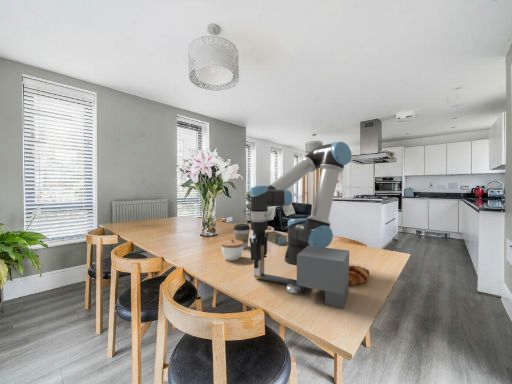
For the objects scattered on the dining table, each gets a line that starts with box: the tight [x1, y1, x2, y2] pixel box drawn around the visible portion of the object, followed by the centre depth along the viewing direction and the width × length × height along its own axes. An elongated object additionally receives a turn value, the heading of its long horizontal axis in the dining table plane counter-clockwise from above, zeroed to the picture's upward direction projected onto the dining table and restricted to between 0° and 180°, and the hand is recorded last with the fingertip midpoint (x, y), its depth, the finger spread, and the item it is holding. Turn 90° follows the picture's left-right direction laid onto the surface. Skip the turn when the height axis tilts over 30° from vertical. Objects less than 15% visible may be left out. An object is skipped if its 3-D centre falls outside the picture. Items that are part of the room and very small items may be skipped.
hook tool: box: [253, 245, 306, 293], centre depth 96 cm, size 22×8×14 cm, turn 62°
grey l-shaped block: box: [296, 246, 350, 310], centre depth 88 cm, size 17×15×16 cm
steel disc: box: [285, 284, 300, 295], centre depth 91 cm, size 5×5×2 cm
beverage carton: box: [265, 230, 288, 246], centre depth 171 cm, size 8×19×7 cm, turn 24°
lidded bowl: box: [220, 238, 244, 261], centre depth 132 cm, size 13×13×11 cm
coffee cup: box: [233, 223, 251, 250], centre depth 156 cm, size 11×11×15 cm
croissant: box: [349, 265, 370, 286], centre depth 101 cm, size 21×10×8 cm, turn 127°
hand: (259, 273), depth 103 cm, fingers closed on hook tool, 3 cm apart
